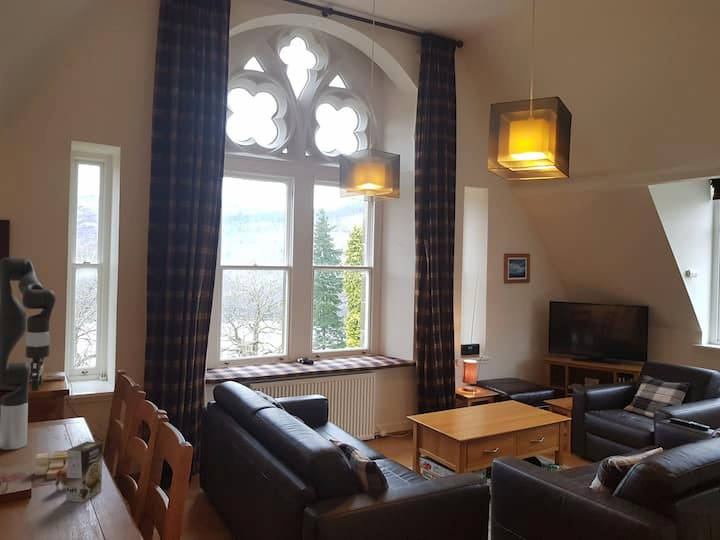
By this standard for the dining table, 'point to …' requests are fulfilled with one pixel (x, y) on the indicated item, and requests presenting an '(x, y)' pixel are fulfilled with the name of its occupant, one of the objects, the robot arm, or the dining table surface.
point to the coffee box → (84, 471)
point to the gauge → (46, 462)
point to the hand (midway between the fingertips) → (36, 388)
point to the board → (56, 464)
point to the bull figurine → (61, 477)
